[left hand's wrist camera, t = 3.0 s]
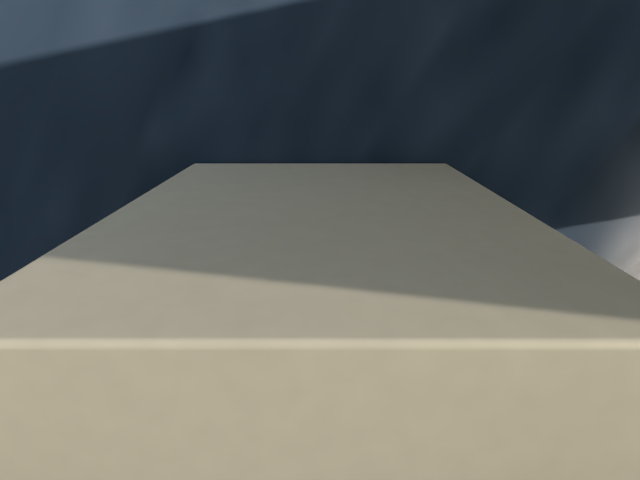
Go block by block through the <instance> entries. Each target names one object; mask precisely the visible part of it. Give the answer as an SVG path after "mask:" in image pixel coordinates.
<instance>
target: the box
mask: <svg viewBox="0 0 640 480" xmlns="http://www.w3.org/2000/svg"><path fill="white" fill-rule="evenodd" d="M0 480H640V281H639V280H637V279H635V278H634V277H632V276H631V275H629V274H627V273H626V272H624V271H622V270H621V269H619V268H617V267H616V266H614V265H612V264H611V263H609V262H607V261H606V260H604V259H603V258H601V257H599V256H598V255H596V254H594V253H593V252H591V251H589V250H588V249H586V248H584V247H583V246H581V245H579V244H578V243H576V242H574V241H573V240H571V239H570V238H568V237H566V236H565V235H563V234H561V233H560V232H558V231H556V230H555V229H553V228H551V227H550V226H548V225H546V224H545V223H543V222H541V221H540V220H538V219H537V218H535V217H533V216H532V215H530V214H528V213H527V212H525V211H523V210H522V209H520V208H518V207H517V206H515V205H513V204H512V203H510V202H509V201H507V200H505V199H504V198H502V197H500V196H499V195H497V194H495V193H494V192H492V191H490V190H489V189H487V188H485V187H484V186H482V185H480V184H479V183H477V182H476V181H474V180H472V179H471V178H469V177H467V176H466V175H464V174H462V173H461V172H459V171H457V170H456V169H454V168H452V167H451V166H449V165H447V164H445V163H195V164H193V165H191V166H190V167H188V168H186V169H185V170H183V171H181V172H180V173H178V174H176V175H175V176H173V177H171V178H170V179H168V180H166V181H165V182H163V183H161V184H160V185H158V186H157V187H155V188H153V189H152V190H150V191H148V192H147V193H145V194H143V195H142V196H140V197H138V198H137V199H135V200H133V201H132V202H130V203H128V204H127V205H125V206H124V207H122V208H120V209H119V210H117V211H115V212H114V213H112V214H110V215H109V216H107V217H105V218H104V219H102V220H100V221H99V222H97V223H95V224H94V225H92V226H91V227H89V228H87V229H86V230H84V231H82V232H81V233H79V234H77V235H76V236H74V237H72V238H71V239H69V240H67V241H66V242H64V243H62V244H61V245H59V246H58V247H56V248H54V249H53V250H51V251H49V252H48V253H46V254H44V255H43V256H41V257H39V258H38V259H36V260H34V261H33V262H31V263H29V264H28V265H26V266H25V267H23V268H21V269H20V270H18V271H16V272H15V273H13V274H11V275H10V276H8V277H6V278H5V279H3V280H1V281H0Z"/></svg>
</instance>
